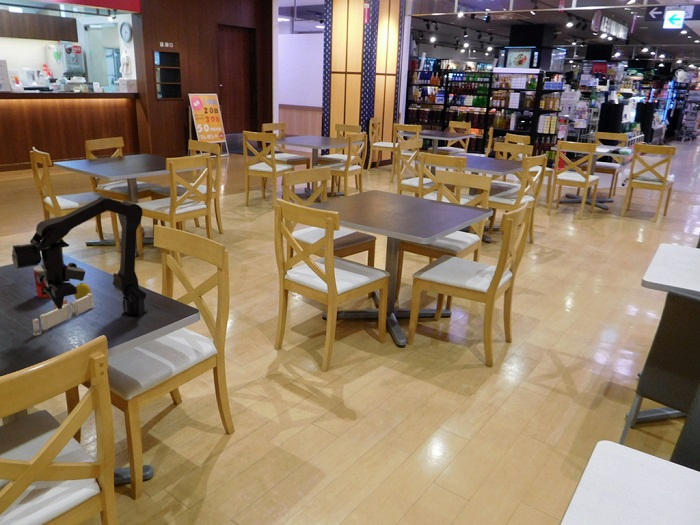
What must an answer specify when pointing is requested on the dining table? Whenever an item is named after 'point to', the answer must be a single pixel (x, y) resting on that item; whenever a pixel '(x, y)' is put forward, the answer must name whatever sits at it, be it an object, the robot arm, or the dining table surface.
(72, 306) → the hinge post
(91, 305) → the fence panel
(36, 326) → the post
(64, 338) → the dining table surface
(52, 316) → the gate
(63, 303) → the block
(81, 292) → the lemon
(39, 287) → the canned food
